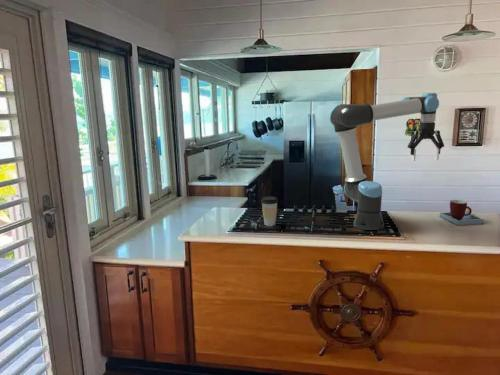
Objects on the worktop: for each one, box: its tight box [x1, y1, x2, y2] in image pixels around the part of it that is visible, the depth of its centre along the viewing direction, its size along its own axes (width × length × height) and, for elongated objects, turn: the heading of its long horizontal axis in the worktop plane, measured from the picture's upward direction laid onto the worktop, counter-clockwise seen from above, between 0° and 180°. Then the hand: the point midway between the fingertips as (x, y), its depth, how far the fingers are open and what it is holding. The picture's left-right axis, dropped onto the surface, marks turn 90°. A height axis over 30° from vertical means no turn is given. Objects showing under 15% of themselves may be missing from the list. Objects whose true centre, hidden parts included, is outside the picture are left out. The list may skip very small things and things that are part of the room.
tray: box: [439, 211, 485, 226], centre depth 205 cm, size 15×16×2 cm
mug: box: [449, 199, 473, 220], centre depth 203 cm, size 11×8×10 cm
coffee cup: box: [260, 196, 279, 227], centre depth 204 cm, size 9×9×15 cm
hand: (424, 160), depth 210 cm, fingers open, 13 cm apart
